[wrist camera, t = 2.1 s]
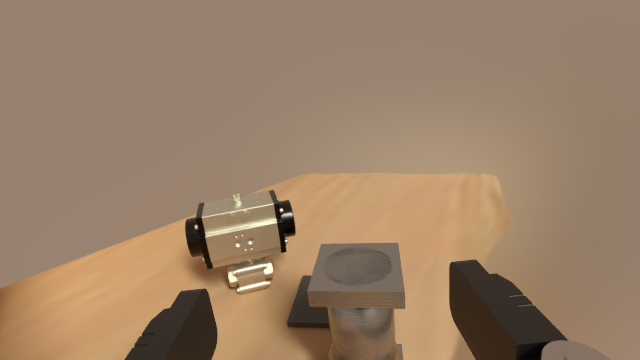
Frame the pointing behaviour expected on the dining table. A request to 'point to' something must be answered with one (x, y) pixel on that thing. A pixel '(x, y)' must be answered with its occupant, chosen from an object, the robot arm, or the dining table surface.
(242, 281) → the pneumatic valve
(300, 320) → the pad
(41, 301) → the dining table surface
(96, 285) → the dining table surface
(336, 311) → the grey column pedestal
